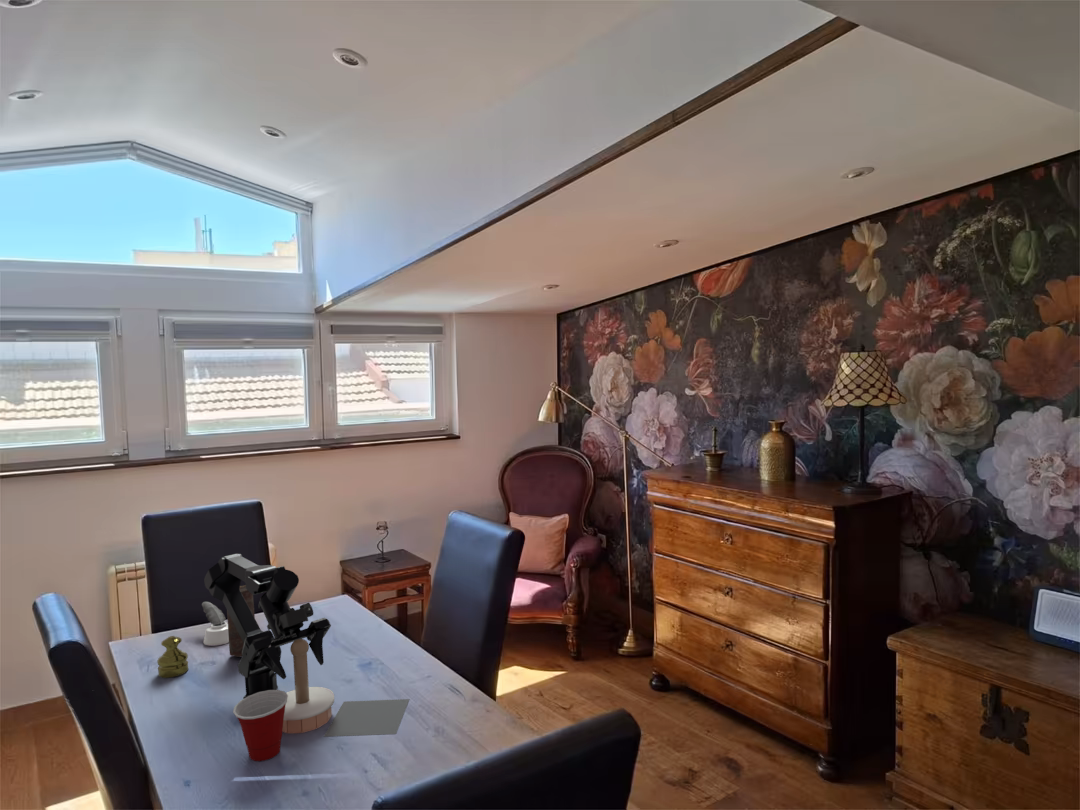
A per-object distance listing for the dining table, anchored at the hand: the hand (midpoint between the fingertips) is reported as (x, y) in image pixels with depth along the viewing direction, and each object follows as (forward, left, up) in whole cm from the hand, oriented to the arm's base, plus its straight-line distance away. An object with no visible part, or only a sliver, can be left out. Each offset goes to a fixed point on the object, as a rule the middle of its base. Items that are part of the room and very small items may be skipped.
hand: (304, 671), depth 159 cm
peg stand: (-1, +1, -8) cm, 9 cm away
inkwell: (-48, +56, -13) cm, 75 cm away
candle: (-32, +41, -13) cm, 54 cm away
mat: (+14, +1, -12) cm, 19 cm away
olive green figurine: (-47, +31, -13) cm, 58 cm away
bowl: (-1, +1, -12) cm, 13 cm away
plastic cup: (-5, -13, -13) cm, 19 cm away
